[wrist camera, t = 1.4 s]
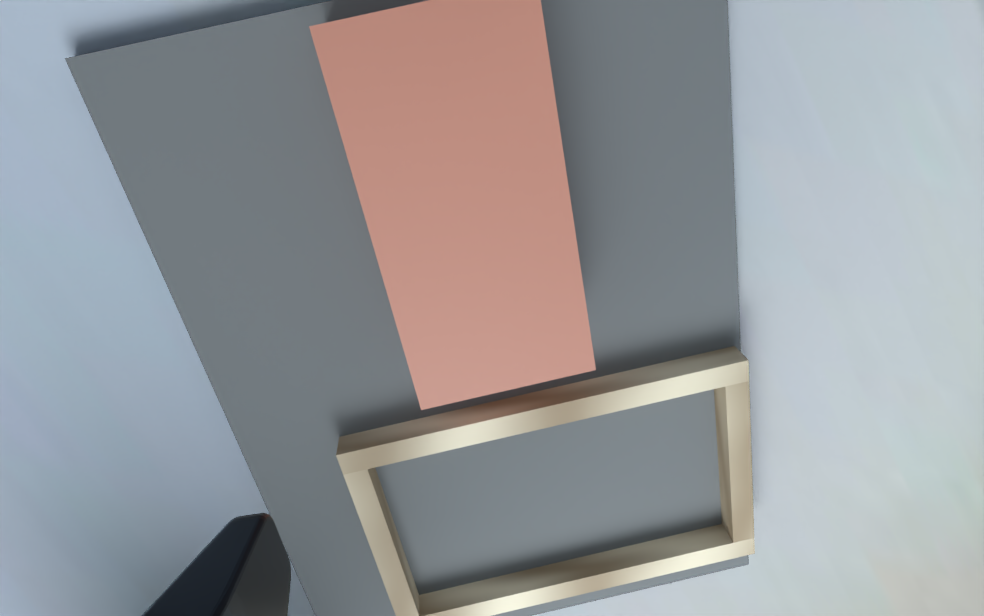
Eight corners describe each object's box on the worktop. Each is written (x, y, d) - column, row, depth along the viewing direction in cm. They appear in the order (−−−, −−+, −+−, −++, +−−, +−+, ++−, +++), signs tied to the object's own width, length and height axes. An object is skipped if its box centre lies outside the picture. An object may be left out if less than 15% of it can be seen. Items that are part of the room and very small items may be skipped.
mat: (337, 650, 27) (336, 661, 26) (74, 57, 17) (64, 58, 16) (742, 555, 27) (748, 564, 26) (715, -83, 17) (723, -86, 17)
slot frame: (404, 614, 25) (403, 636, 25) (339, 437, 22) (335, 455, 21) (742, 534, 26) (754, 553, 25) (734, 346, 22) (748, 360, 21)
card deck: (420, 358, 21) (421, 410, 18) (325, 24, 17) (309, 26, 14) (572, 323, 21) (596, 370, 18) (517, -18, 17) (537, -24, 14)
